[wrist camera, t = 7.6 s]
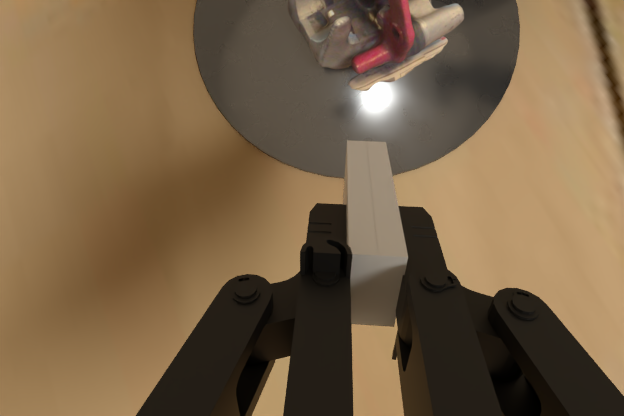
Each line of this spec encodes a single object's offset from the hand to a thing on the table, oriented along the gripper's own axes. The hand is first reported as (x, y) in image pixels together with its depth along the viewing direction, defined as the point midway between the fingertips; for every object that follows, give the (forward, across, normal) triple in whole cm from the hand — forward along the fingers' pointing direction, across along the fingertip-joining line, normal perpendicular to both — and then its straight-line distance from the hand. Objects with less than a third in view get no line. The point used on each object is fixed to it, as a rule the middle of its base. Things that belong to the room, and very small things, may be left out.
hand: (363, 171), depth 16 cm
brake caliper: (+18, 0, +2) cm, 18 cm away
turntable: (+18, 0, +2) cm, 18 cm away
